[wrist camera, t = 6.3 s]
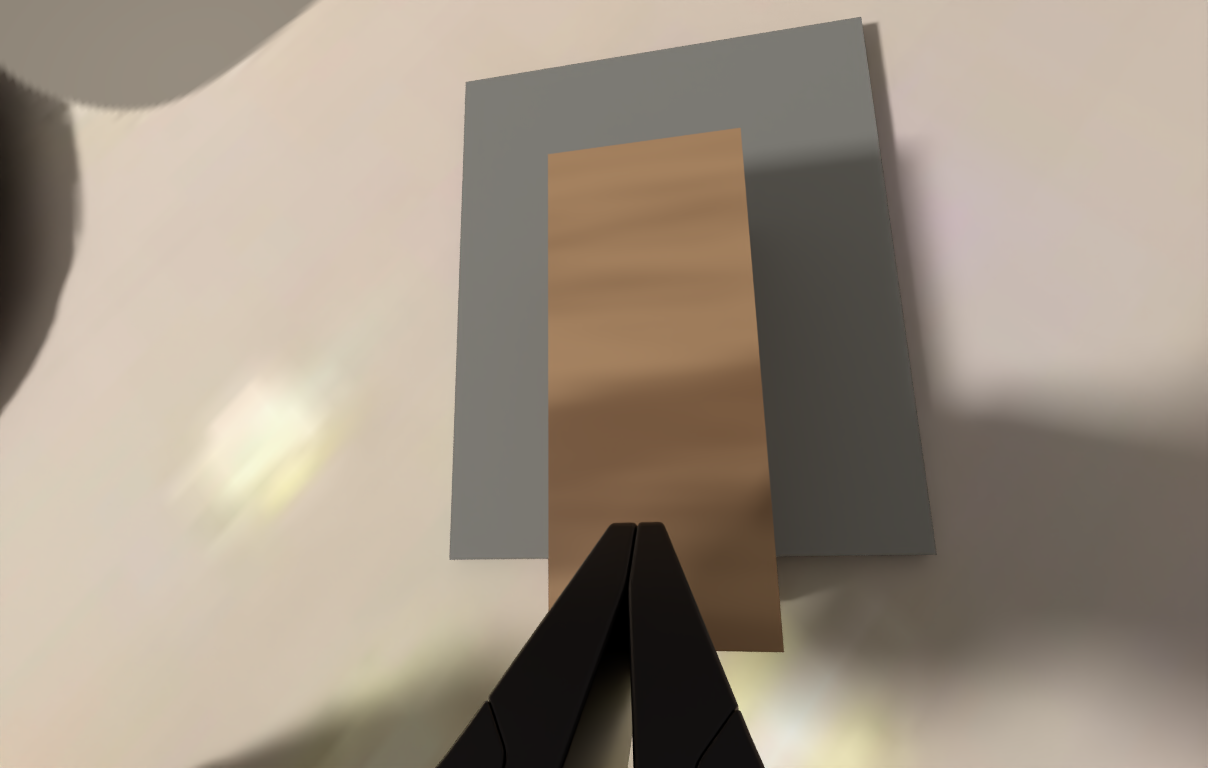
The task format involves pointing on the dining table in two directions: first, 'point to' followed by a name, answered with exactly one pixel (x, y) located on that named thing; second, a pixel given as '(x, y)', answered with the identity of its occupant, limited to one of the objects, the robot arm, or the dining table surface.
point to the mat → (780, 276)
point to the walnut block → (661, 372)
